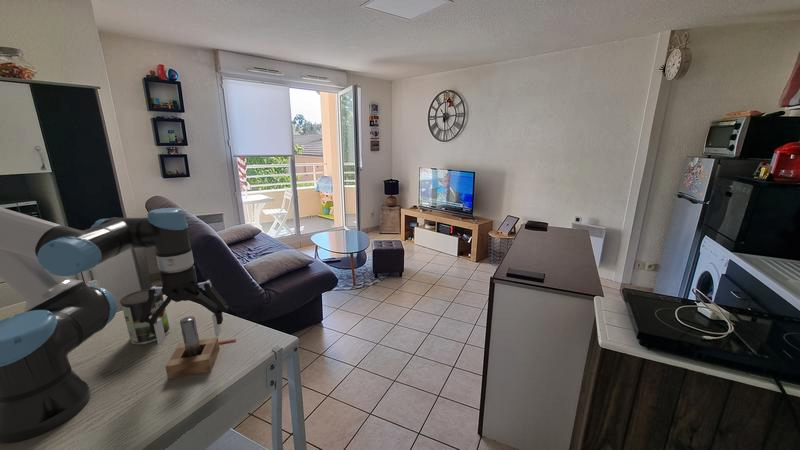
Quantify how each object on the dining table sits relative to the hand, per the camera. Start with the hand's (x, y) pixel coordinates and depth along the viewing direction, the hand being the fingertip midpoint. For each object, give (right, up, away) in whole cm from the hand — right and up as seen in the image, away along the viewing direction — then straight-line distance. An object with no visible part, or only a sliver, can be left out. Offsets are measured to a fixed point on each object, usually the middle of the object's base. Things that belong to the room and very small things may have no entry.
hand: (190, 338), depth 85 cm
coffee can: (-23, -4, +15) cm, 28 cm away
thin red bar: (-1, -6, +10) cm, 12 cm away
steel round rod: (0, -8, +2) cm, 8 cm away
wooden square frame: (0, -8, +2) cm, 8 cm away
